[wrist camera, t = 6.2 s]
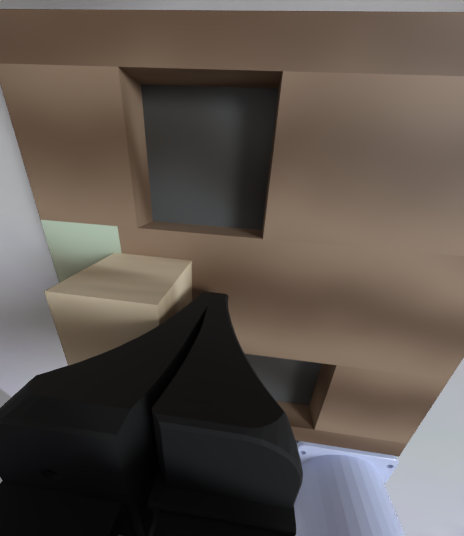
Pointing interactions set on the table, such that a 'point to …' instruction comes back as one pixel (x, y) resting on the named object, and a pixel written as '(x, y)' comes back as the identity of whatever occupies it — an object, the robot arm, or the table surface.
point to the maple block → (117, 302)
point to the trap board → (267, 186)
